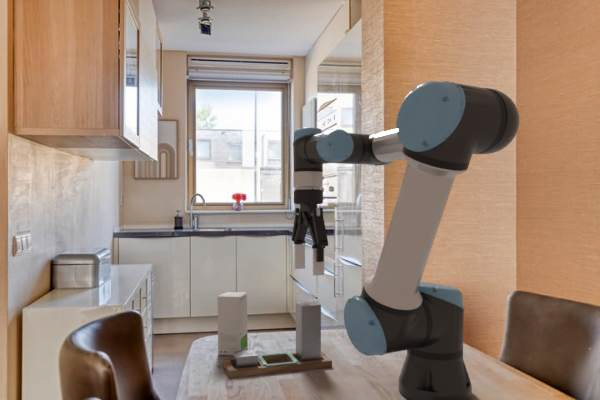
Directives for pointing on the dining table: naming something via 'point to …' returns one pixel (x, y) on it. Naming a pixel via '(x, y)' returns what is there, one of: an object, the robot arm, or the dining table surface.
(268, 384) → the dining table surface
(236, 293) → the skincare box
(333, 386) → the dining table surface
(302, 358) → the brushed grey block
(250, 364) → the grey concrete cube
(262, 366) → the wooden holder tray
